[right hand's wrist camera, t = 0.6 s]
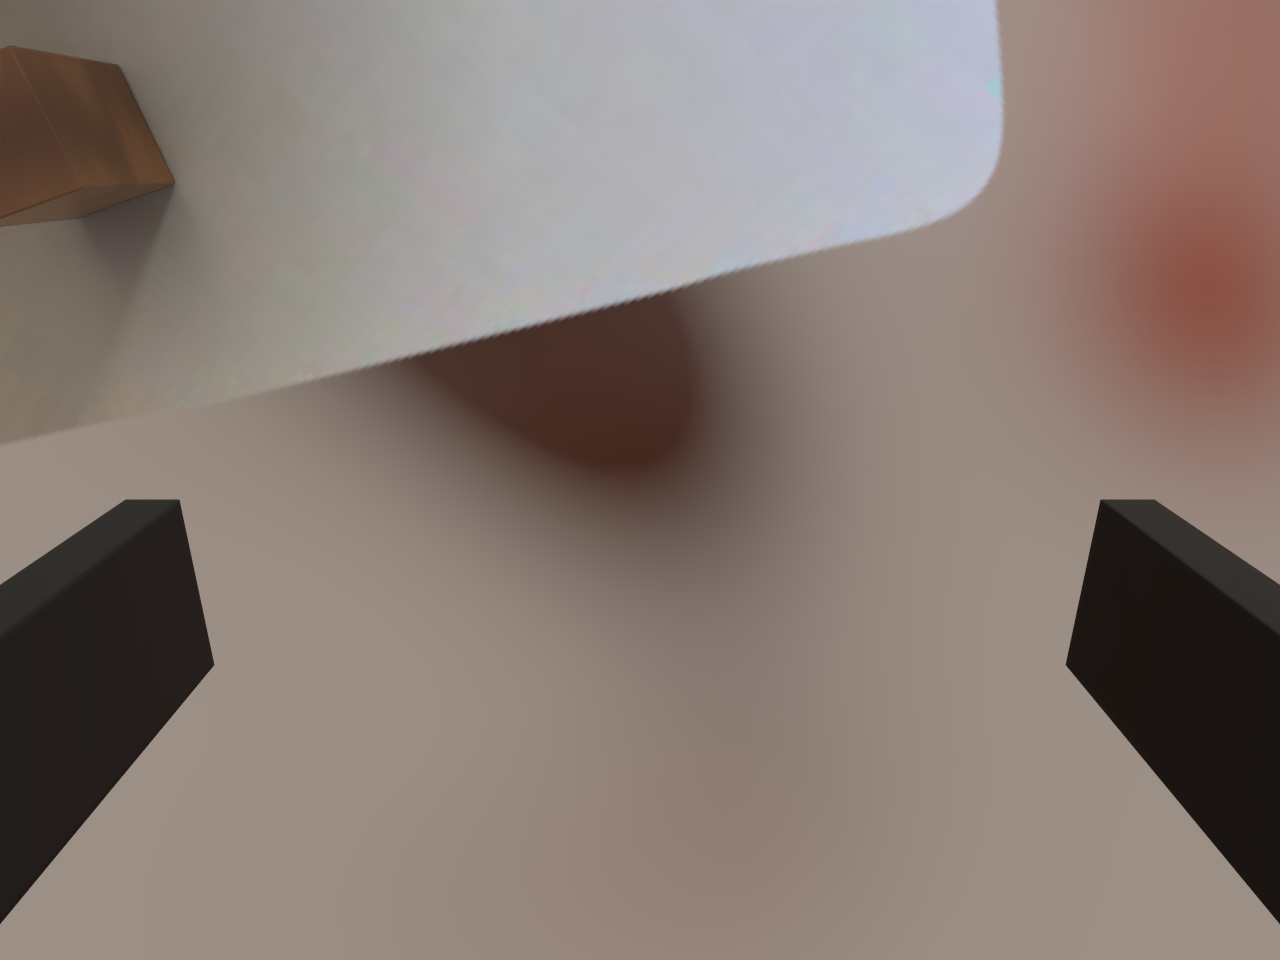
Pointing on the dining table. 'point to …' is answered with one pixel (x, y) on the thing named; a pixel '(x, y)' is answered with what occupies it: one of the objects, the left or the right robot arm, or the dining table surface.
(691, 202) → the dining table surface
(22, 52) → the walnut block
